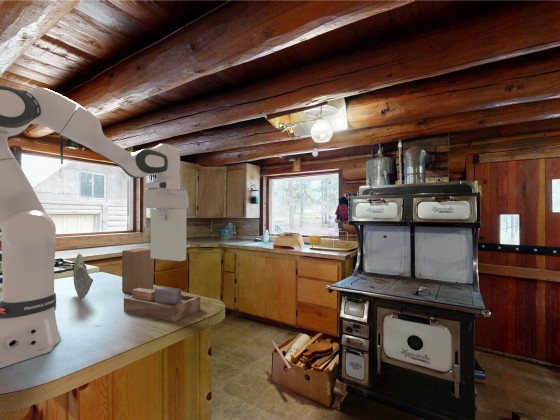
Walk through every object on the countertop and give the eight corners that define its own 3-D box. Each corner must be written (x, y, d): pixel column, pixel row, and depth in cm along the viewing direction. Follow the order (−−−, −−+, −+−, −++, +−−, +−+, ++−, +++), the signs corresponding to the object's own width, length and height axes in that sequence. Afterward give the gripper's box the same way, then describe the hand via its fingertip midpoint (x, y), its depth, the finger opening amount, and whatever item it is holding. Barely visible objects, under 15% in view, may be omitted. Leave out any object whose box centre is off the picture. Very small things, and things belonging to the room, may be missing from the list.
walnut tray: (174, 321, 98) (174, 307, 98) (123, 311, 108) (123, 298, 108) (200, 309, 110) (200, 296, 110) (152, 300, 121) (152, 289, 121)
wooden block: (121, 292, 134) (121, 250, 134) (140, 286, 143) (140, 247, 143) (135, 294, 129) (135, 251, 129) (153, 289, 138) (153, 249, 138)
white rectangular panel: (180, 261, 107) (180, 209, 107) (150, 258, 114) (150, 209, 114) (186, 259, 110) (186, 209, 110) (156, 257, 116) (156, 209, 117)
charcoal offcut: (175, 318, 100) (175, 291, 101) (154, 314, 105) (154, 287, 105) (181, 315, 103) (181, 288, 103) (161, 312, 107) (161, 286, 107)
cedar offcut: (150, 313, 105) (151, 292, 105) (132, 310, 109) (132, 289, 109) (157, 311, 108) (157, 290, 108) (139, 307, 112) (139, 287, 112)
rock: (94, 305, 114) (94, 256, 114) (75, 309, 110) (75, 258, 110) (84, 291, 134) (84, 250, 134) (68, 294, 130) (68, 251, 130)
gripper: (181, 187, 123) (181, 219, 123) (141, 183, 104) (141, 220, 104) (192, 187, 120) (192, 219, 120) (153, 182, 102) (153, 220, 101)
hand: (168, 220), depth 112 cm, fingers closed on white rectangular panel, 3 cm apart
